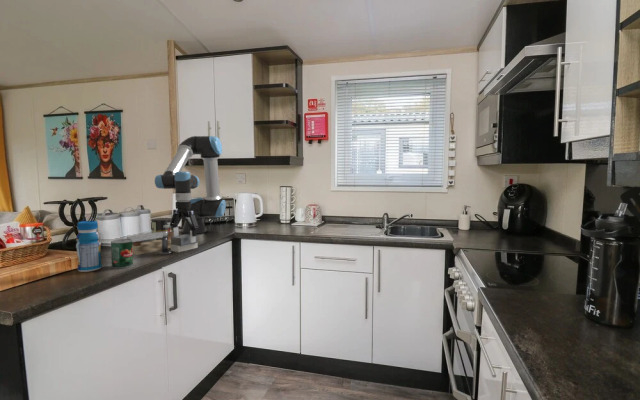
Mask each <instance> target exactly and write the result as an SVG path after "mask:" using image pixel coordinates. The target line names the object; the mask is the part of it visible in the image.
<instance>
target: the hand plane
mask: <svg viewBox="0 0 640 400" xmlns="http://www.w3.org/2000/svg"><path fill="white" fill-rule="evenodd" d="M171 237H173V231H171V232H168V237H167V239H168V249H171ZM132 251H133V252H132V253H133V255H135V256H139V255H143V254H149V253H152V252H157V251H162V240H156V241H152V240H151V241H146V242H141V241H136V242H132Z"/></svg>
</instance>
